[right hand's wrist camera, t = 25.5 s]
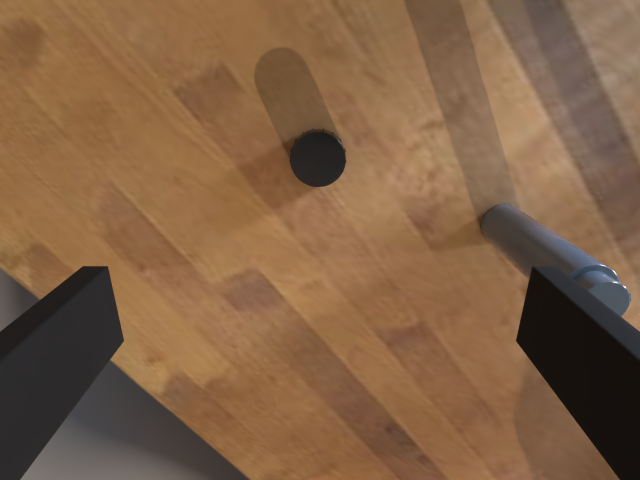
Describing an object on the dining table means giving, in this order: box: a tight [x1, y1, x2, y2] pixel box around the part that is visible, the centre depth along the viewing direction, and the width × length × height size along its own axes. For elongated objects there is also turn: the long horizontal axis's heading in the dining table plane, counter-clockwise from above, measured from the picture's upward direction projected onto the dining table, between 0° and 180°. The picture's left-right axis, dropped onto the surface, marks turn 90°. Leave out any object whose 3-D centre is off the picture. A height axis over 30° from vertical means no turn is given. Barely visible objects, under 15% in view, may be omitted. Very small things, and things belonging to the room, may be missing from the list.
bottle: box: [481, 204, 631, 317], centre depth 32 cm, size 4×4×15 cm
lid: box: [290, 129, 346, 187], centre depth 36 cm, size 5×5×2 cm
